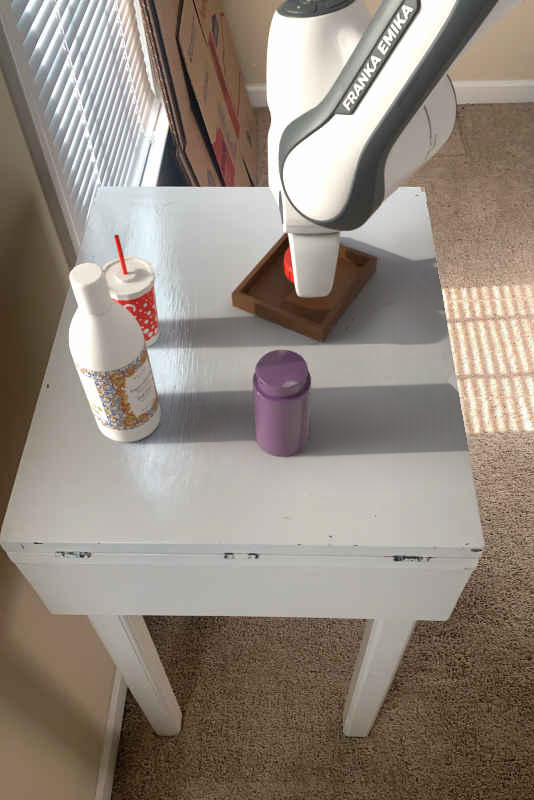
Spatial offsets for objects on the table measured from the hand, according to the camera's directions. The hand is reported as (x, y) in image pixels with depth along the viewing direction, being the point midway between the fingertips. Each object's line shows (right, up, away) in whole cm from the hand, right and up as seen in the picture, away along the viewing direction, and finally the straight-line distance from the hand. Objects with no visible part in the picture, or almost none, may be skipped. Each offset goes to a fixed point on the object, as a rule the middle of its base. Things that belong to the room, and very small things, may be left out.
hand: (306, 272), depth 83 cm
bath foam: (-20, -19, -8) cm, 28 cm away
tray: (0, -1, +2) cm, 2 cm away
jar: (-3, -20, -10) cm, 23 cm away
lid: (0, +1, -2) cm, 2 cm away
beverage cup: (-20, -8, -2) cm, 21 cm away
